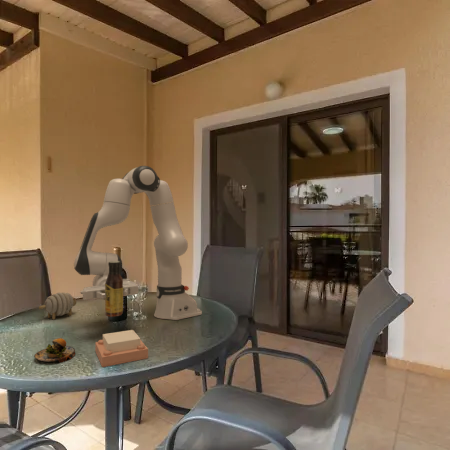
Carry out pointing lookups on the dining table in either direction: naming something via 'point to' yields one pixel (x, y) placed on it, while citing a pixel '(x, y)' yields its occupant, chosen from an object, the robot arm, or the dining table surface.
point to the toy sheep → (59, 304)
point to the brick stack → (120, 348)
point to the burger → (56, 352)
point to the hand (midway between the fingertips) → (114, 295)
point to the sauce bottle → (114, 290)
